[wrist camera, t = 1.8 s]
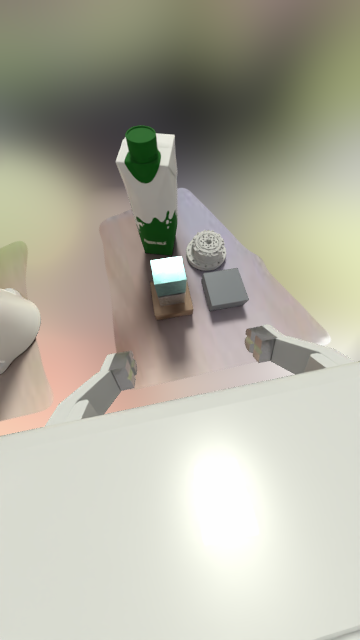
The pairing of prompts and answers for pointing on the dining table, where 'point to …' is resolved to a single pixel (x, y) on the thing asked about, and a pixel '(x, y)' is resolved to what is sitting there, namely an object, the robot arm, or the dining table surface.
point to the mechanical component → (206, 251)
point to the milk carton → (151, 186)
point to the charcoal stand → (224, 289)
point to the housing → (169, 280)
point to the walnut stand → (171, 306)
